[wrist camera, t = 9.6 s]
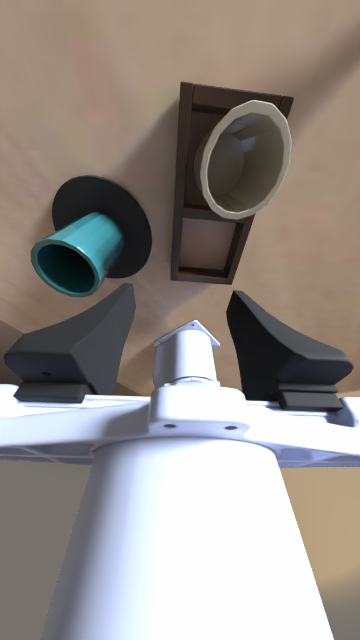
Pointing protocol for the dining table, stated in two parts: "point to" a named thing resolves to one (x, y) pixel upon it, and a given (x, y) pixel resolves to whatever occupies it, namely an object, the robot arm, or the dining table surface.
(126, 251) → the coaster
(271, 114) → the cream cup
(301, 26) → the dining table surface
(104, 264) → the teal cup
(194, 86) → the holder
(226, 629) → the robot arm
